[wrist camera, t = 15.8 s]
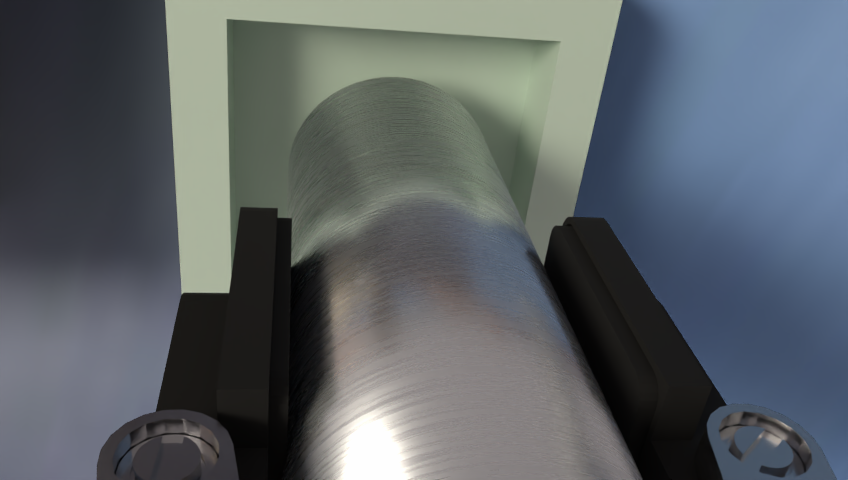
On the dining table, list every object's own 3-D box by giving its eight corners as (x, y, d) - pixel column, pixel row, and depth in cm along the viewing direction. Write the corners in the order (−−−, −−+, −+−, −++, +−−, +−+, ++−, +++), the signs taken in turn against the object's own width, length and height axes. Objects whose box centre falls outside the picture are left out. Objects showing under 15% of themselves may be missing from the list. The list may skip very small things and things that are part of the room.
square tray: (589, -37, 16) (624, -10, 14) (522, 290, 20) (543, 342, 19) (178, -71, 15) (162, -46, 13) (195, 286, 19) (184, 341, 17)
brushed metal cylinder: (500, 82, 15) (741, 487, 7) (473, 258, 18) (633, 735, 9) (289, 71, 15) (276, 502, 6) (286, 254, 17) (271, 767, 8)
